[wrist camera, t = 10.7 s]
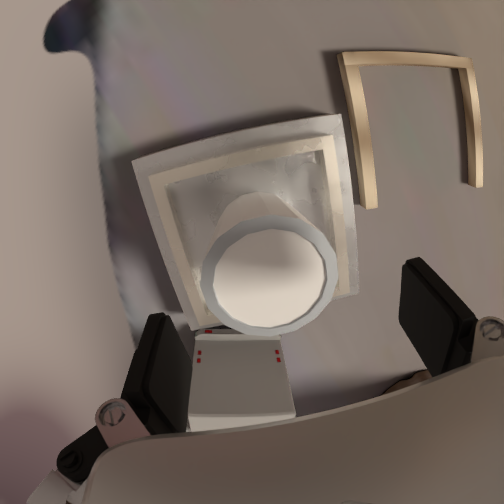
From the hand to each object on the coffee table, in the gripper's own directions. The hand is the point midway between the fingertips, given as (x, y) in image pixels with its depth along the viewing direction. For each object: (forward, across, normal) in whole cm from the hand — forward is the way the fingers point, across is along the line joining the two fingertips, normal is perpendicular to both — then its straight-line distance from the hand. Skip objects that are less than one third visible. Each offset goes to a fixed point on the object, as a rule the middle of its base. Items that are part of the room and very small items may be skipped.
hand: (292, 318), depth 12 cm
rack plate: (+13, +1, +1) cm, 13 cm away
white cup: (+11, +1, +1) cm, 11 cm away
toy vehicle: (+13, +7, +18) cm, 23 cm away
